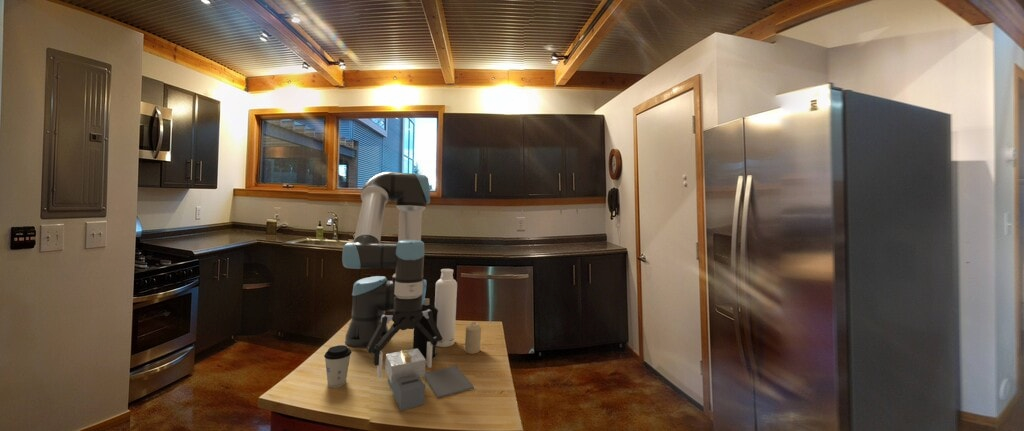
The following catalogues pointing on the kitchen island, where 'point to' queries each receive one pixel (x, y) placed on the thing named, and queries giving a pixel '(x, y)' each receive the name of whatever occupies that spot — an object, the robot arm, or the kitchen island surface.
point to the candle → (473, 338)
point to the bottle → (446, 307)
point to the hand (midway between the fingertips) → (405, 370)
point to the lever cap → (405, 365)
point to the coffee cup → (337, 365)
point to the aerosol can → (418, 336)
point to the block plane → (408, 393)
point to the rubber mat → (447, 381)
